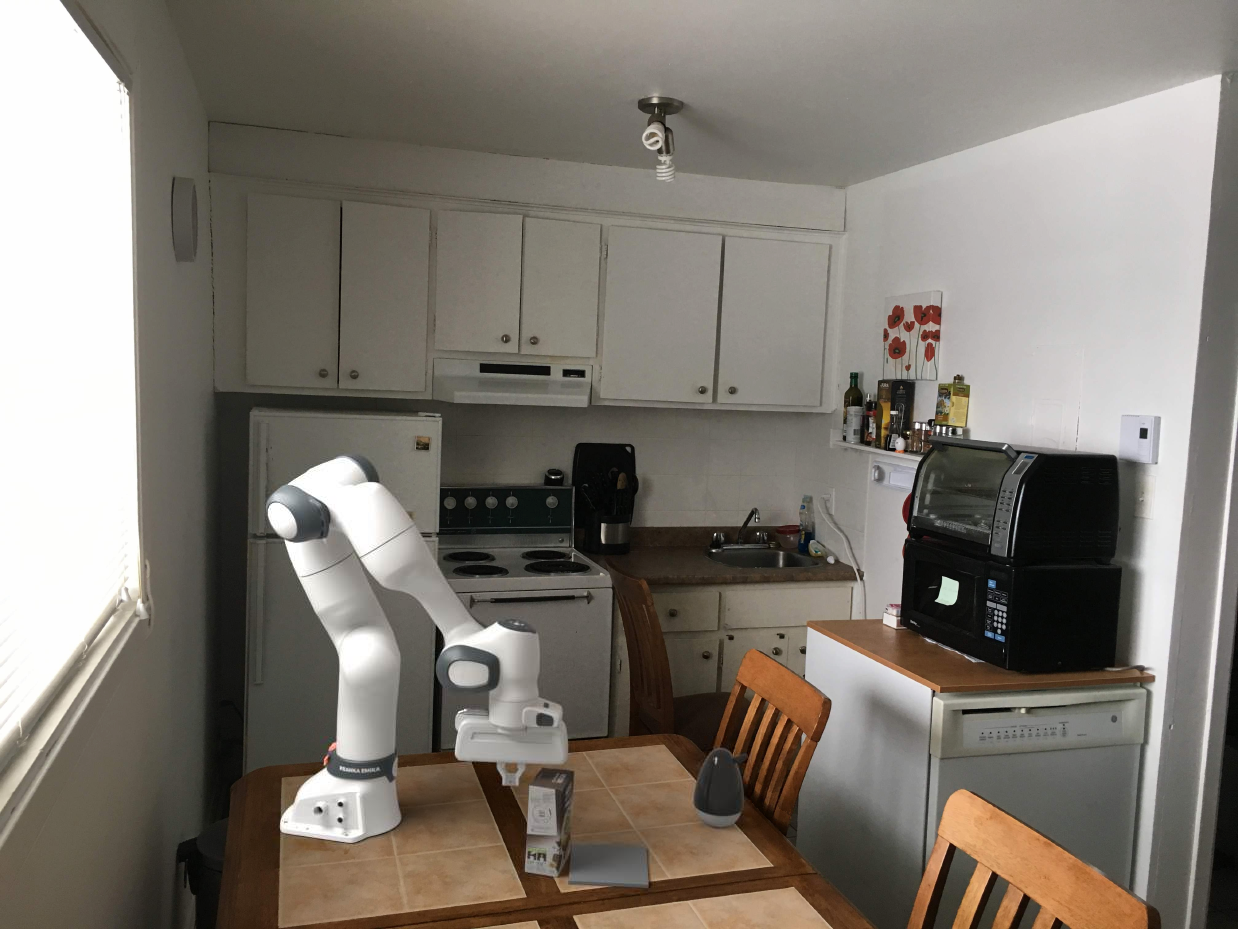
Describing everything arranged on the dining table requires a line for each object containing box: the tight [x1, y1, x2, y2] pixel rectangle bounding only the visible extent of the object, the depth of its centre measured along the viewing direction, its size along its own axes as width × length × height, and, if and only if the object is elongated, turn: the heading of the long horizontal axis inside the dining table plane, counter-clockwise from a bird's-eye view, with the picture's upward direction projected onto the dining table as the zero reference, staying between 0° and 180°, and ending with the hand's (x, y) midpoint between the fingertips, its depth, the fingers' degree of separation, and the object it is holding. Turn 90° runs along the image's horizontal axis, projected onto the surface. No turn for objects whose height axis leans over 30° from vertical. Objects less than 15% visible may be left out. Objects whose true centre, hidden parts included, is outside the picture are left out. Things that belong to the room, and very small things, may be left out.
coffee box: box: [524, 767, 575, 878], centre depth 173 cm, size 9×6×16 cm
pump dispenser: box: [692, 747, 749, 828], centre depth 193 cm, size 10×10×15 cm
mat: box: [567, 842, 650, 889], centre depth 174 cm, size 14×14×1 cm
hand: (510, 784), depth 173 cm, fingers closed
